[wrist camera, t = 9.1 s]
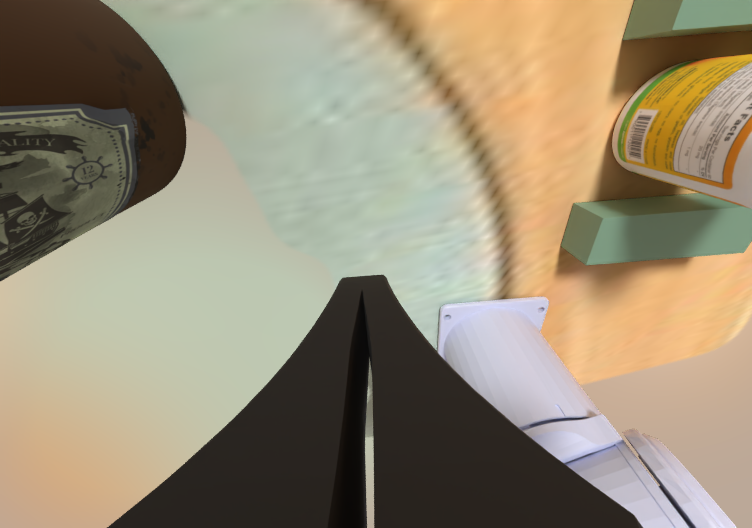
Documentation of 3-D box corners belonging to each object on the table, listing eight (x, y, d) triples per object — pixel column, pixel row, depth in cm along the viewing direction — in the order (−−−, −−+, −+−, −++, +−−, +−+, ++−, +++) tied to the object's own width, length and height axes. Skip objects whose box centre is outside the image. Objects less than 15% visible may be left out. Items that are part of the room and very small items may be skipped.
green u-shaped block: (700, 234, 19) (743, 252, 17) (560, 246, 19) (585, 265, 17) (873, -67, 12) (985, -102, 10) (649, -50, 12) (712, -82, 10)
